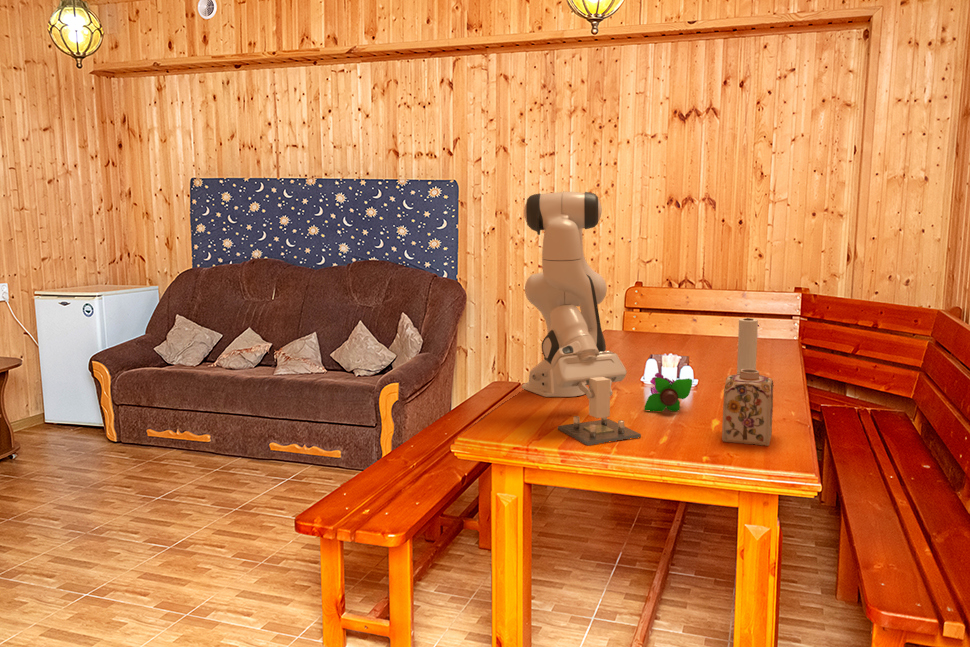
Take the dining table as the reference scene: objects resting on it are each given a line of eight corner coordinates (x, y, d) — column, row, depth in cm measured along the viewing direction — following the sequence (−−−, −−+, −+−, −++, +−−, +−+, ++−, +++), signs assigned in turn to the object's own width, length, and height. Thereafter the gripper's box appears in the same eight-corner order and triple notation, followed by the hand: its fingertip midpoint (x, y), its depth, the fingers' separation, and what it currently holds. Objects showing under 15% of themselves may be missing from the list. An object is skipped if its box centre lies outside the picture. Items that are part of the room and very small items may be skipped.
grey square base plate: (557, 429, 221) (557, 415, 220) (608, 422, 227) (608, 408, 226) (587, 445, 206) (587, 430, 205) (640, 437, 212) (641, 422, 212)
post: (588, 414, 216) (589, 377, 215) (601, 413, 218) (602, 376, 216) (596, 418, 212) (596, 380, 211) (609, 416, 214) (610, 379, 213)
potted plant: (655, 430, 233) (644, 408, 268) (706, 402, 231) (688, 383, 266) (633, 393, 233) (625, 375, 268) (684, 365, 231) (669, 351, 266)
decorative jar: (726, 429, 218) (728, 364, 216) (772, 434, 214) (775, 367, 211) (721, 442, 208) (723, 373, 205) (769, 447, 203) (772, 377, 200)
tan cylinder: (749, 384, 269) (751, 321, 266) (733, 381, 274) (735, 319, 270) (760, 381, 274) (763, 318, 270) (744, 378, 278) (747, 316, 275)
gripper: (610, 357, 228) (629, 398, 220) (545, 363, 220) (562, 406, 212) (619, 343, 223) (638, 385, 215) (553, 350, 215) (571, 393, 208)
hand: (600, 396), depth 214 cm, fingers closed on post, 4 cm apart
